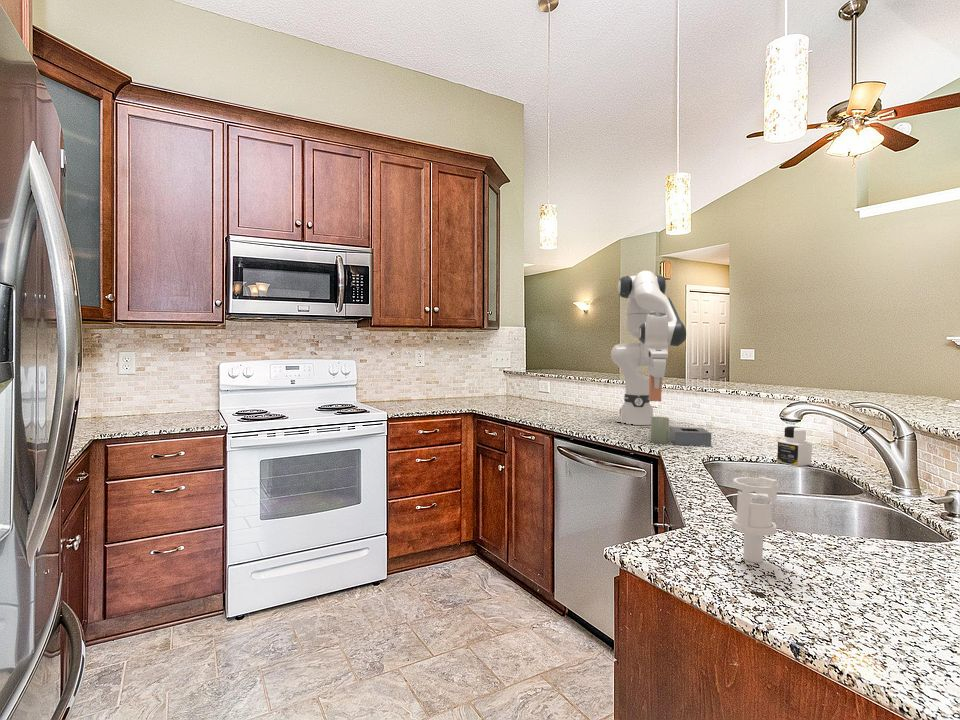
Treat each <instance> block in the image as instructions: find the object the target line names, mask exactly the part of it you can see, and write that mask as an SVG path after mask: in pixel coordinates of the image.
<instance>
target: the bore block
mask: <svg viewBox="0 0 960 720" xmlns="http://www.w3.org/2000/svg"><path fill="white" fill-rule="evenodd" d="M669 439H670V440H671V441H670V440H669V441H670V442H672V443H673V444H674V445H675V446H688V445H705V446H704V447H712V432H710V431H708V430H707V429H705V428H703V427H685V426H684V427H682V426H681V427H680V426H678V427H677V426H669Z"/></svg>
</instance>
